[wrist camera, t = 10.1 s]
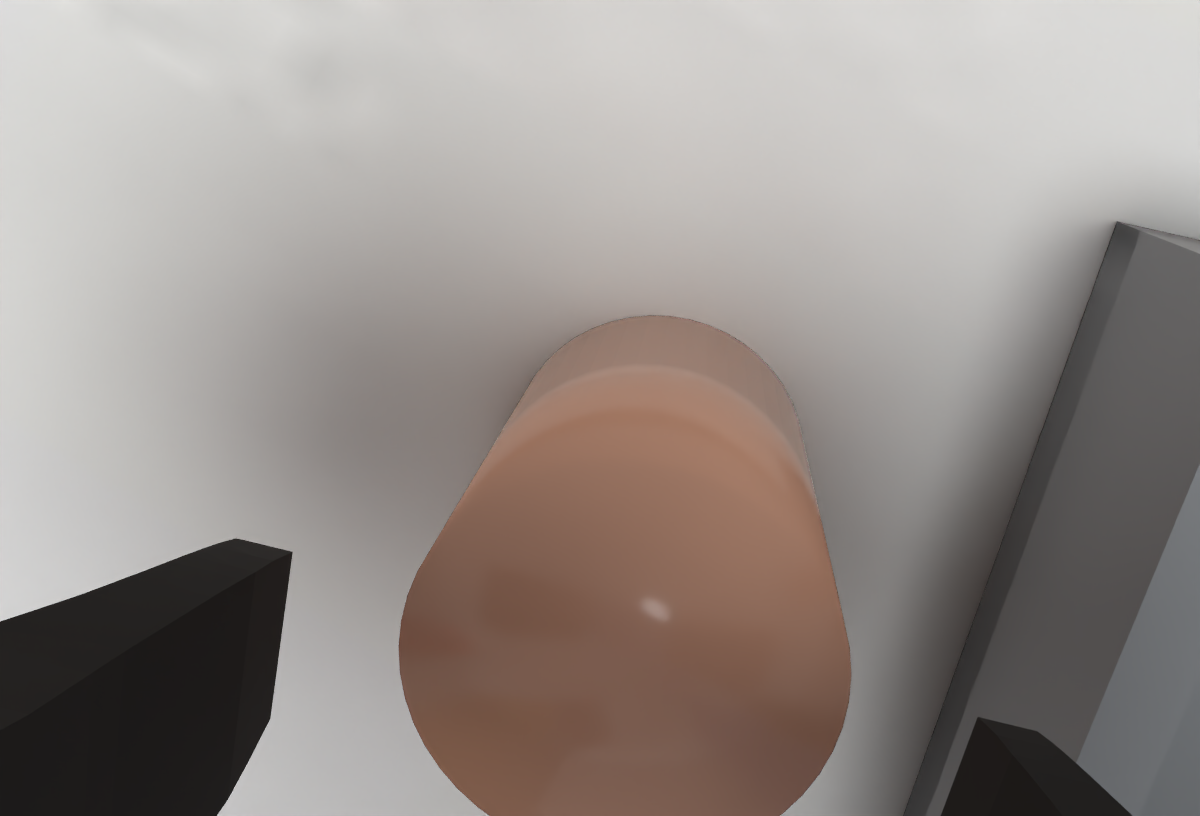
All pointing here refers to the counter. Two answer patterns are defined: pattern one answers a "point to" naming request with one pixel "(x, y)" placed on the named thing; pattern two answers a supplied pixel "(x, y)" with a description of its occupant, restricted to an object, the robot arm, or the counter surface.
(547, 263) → the counter surface
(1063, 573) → the tote
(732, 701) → the terracotta cylinder
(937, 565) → the counter surface
